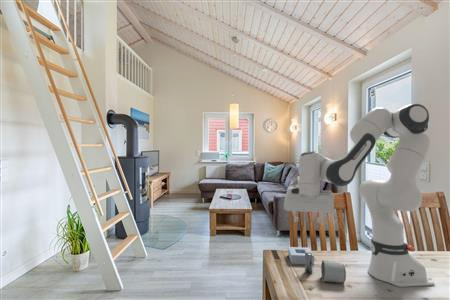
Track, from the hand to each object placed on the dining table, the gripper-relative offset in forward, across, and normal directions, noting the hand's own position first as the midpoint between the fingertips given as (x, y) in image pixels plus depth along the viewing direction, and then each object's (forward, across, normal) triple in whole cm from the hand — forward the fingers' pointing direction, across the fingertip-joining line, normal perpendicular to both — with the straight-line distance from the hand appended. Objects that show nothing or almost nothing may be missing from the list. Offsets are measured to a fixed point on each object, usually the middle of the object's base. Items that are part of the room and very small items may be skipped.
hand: (308, 222), depth 111 cm
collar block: (+21, +1, -13) cm, 25 cm away
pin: (+21, -1, 0) cm, 21 cm away
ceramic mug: (+22, -9, +4) cm, 24 cm away
